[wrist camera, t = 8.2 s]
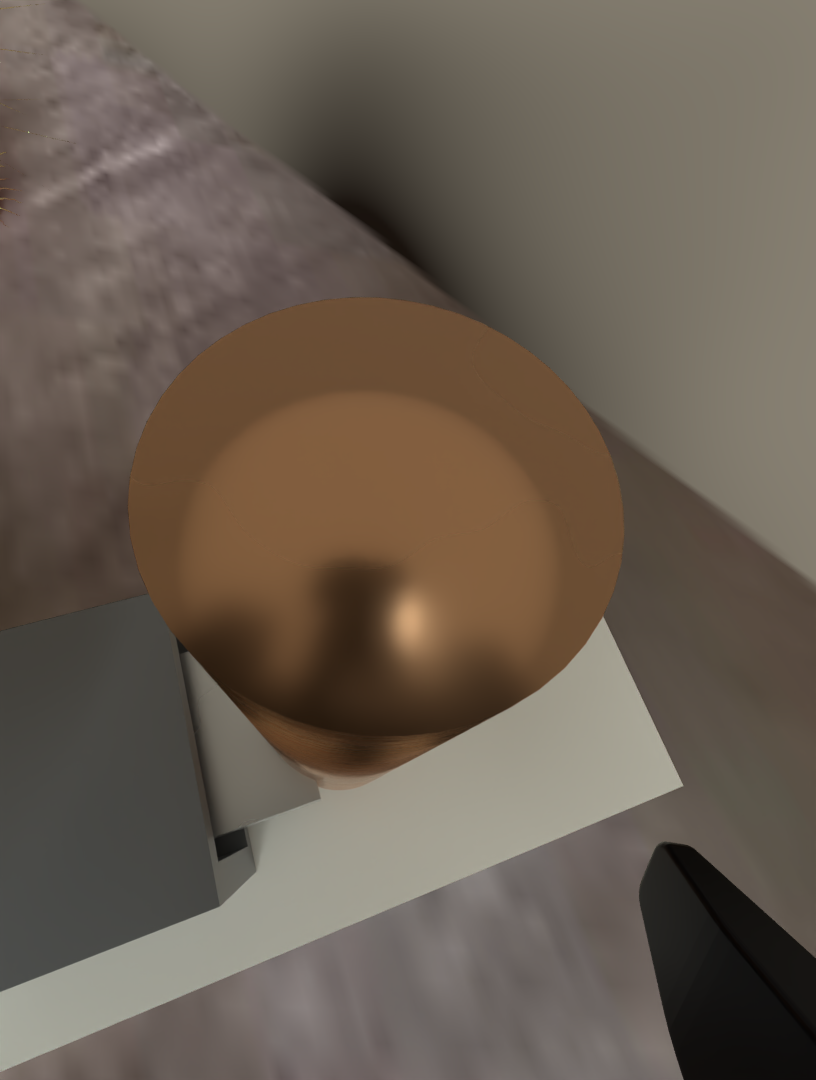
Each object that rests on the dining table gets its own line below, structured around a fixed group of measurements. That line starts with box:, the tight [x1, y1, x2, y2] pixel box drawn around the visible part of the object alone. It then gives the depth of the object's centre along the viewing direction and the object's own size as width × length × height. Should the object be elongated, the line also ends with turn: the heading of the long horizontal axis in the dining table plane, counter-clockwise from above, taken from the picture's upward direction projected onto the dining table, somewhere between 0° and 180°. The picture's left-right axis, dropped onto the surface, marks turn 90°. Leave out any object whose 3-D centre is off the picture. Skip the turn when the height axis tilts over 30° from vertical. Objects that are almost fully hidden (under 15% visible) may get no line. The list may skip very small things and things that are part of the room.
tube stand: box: [0, 594, 683, 1072], centre depth 13 cm, size 26×9×7 cm, turn 109°
